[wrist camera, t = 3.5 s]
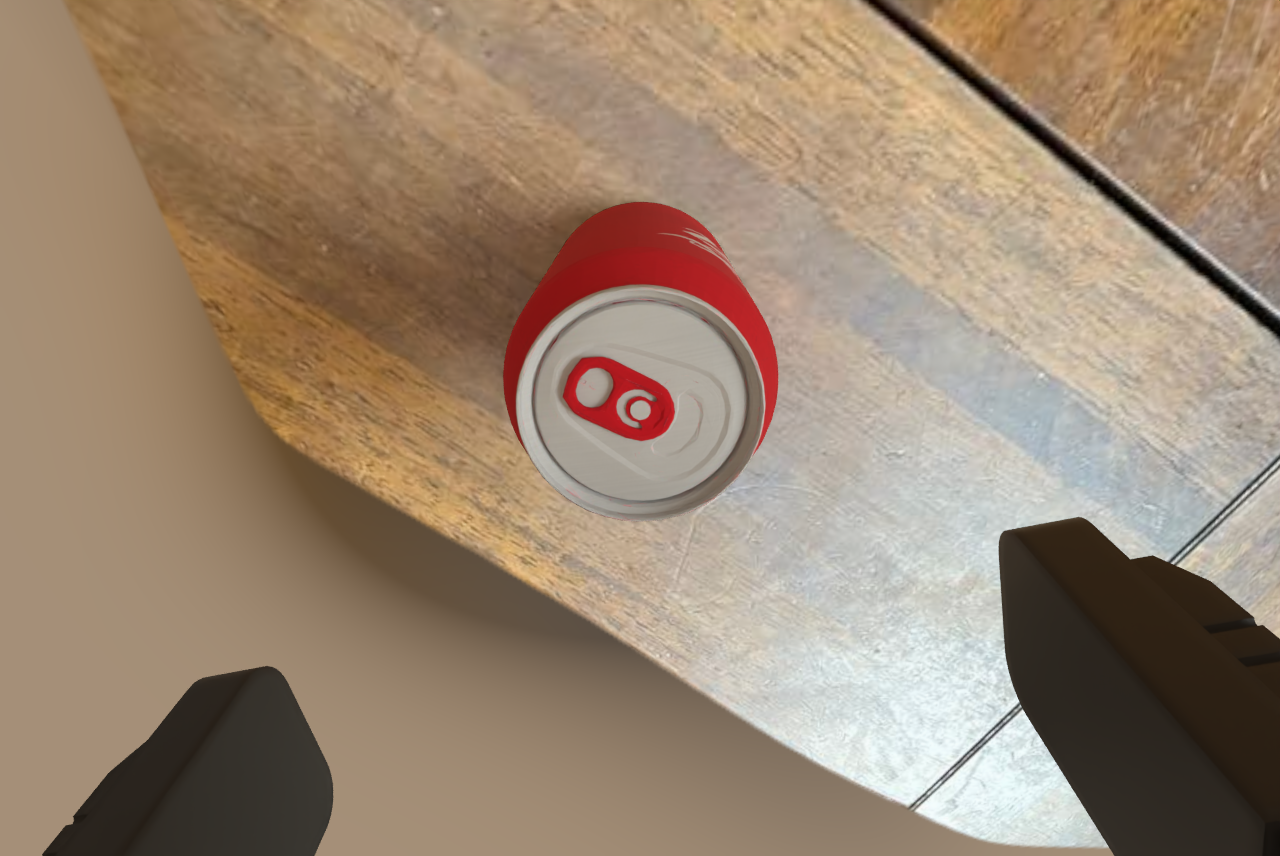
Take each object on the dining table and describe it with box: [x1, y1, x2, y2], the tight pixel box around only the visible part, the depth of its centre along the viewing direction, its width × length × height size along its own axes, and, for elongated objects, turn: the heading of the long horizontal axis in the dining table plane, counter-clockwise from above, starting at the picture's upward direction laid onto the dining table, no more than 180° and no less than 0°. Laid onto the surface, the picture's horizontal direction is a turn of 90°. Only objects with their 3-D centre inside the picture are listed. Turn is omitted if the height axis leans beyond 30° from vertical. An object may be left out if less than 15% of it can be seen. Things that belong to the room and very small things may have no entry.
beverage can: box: [503, 202, 778, 522], centre depth 22 cm, size 6×6×12 cm
